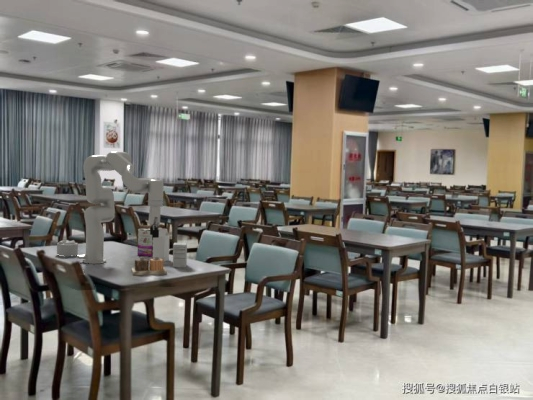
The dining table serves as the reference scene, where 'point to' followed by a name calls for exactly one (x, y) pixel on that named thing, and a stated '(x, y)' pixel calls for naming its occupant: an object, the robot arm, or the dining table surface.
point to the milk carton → (161, 245)
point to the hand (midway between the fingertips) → (154, 236)
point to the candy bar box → (145, 243)
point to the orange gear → (155, 264)
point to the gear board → (145, 267)
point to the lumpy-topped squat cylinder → (67, 248)
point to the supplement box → (179, 254)
